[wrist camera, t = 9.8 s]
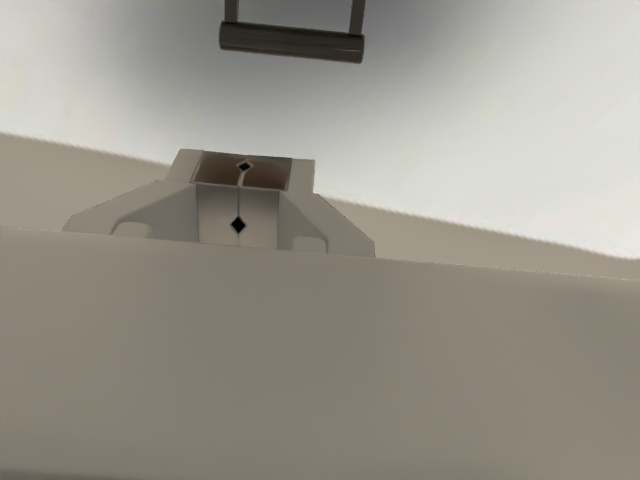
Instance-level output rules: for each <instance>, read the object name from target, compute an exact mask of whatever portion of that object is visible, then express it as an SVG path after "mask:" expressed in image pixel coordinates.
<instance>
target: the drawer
mask: <svg viewBox="0 0 640 480" xmlns="http://www.w3.org/2000/svg"><path fill="white" fill-rule="evenodd" d="M365 1H366V0H352V7H351V16H350V25H349V33H346V32H336V31H326V30H316V29H306V28H296V27H286V26H276V25H267V24H257V23H247V22H237V21H238V16H239V0H225V20H223V21H222V22H221V24H220V31H219V45H220V49H221V50H225V51H235V52H245V53H255V54H265V55H275V56H285V57H295V58H305V59H315V60H325V61H335V62H345V63H355V64H361V63H362V60H363V53H364V44H365V36H364V35H363V34H361V32H362V24H363V17H364V9H365Z"/></svg>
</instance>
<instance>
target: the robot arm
mask: <svg viewBox="0 0 640 480" xmlns="http://www.w3.org/2000/svg"><path fill="white" fill-rule="evenodd" d="M314 173H315V160H310V159H292V158H285V157H270V156H255V155H241V154H231V153H222V152H212V151H204V150H196V149H180V150H179V152H178V154H177V156H176V158H175V160H174V162H173V164H172V166H171V167H170V169H169V171H168V173H167V175H166V177H165V179H164V181H162V180H156V181H154V182H151V183H149V184H147V185H144V186H142V187H140V188H137V189H135V190H132V191H130V192H127V193H125V194H123V195H120V196H118V197H116V198H113V199H111V200H108V201H106V202H103V203H102V204H99V205H96V206H94V207H91V208H89V209H87V210H84V211H82V212H80V213H77V214H75V215H72V216H71V218H70V219H69V220H68V222H67V223H66V225H65V226H64V227H63V229H62V230H61V231H52V230H41V229H30V228H17V227H5V226H0V480H640V280H634V279H622V278H610V277H598V276H586V275H574V274H563V273H550V272H538V271H527V270H515V269H503V268H491V267H479V266H467V265H456V264H443V263H432V262H431V263H430V262H420V261H408V260H397V259H385V258H375V247H374V242H373V240H371V239H370V238H369V237H368V236H367V235H366V234H364V233H363V232H362V231H361V230H360V229H359V228H357V227H356V226H355V225H354V224H353V223H352V222H350V221H349V220H348V219H347V218H346V217H345V216H343V215H342V214H341V213H340V212H339V211H338V210H336V209H335V208H334V207H333V206H332V205H330V204H329V203H328V202H327V201H326V200H325V199H324V198H323V197H321V196H320V195H319V194H313V186H314Z"/></svg>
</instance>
